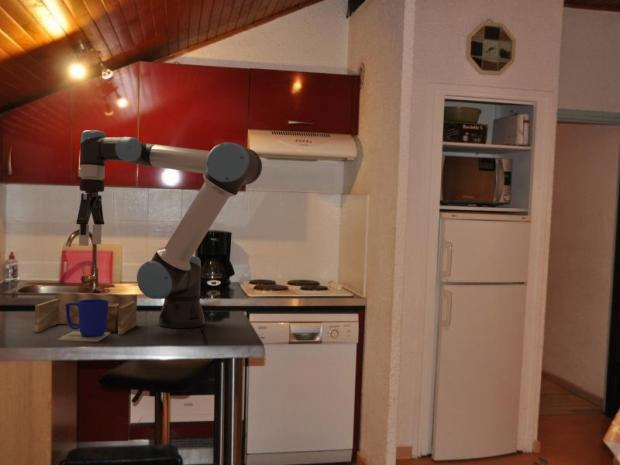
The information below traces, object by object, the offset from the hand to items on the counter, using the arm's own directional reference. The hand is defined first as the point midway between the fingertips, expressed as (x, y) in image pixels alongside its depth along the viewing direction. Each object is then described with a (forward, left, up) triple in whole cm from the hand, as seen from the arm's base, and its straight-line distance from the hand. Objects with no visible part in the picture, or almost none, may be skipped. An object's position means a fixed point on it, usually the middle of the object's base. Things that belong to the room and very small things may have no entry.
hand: (90, 244), depth 189 cm
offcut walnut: (-9, +8, -26) cm, 29 cm away
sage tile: (-6, +20, -26) cm, 33 cm away
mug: (-6, +20, -26) cm, 33 cm away
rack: (-2, +6, -26) cm, 27 cm away
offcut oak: (-9, +7, -22) cm, 25 cm away
